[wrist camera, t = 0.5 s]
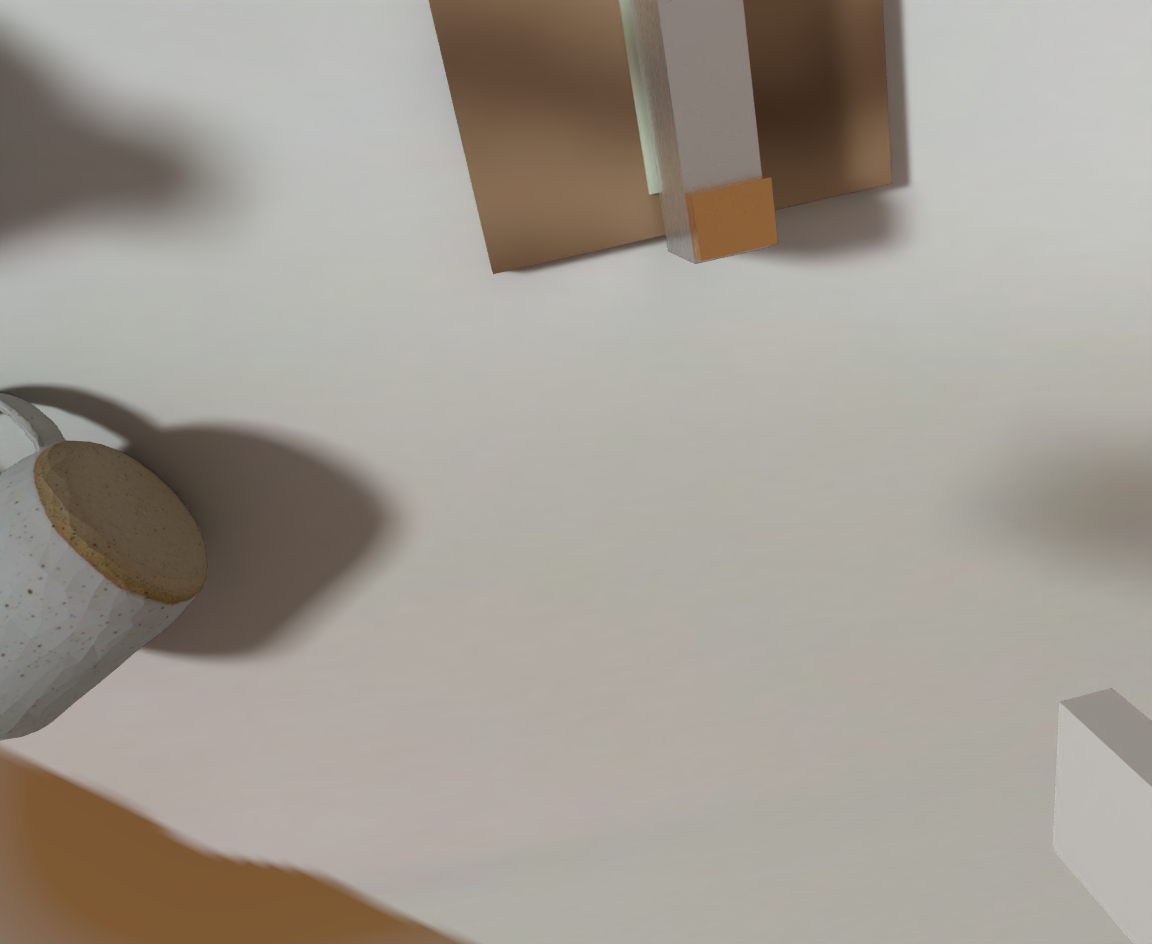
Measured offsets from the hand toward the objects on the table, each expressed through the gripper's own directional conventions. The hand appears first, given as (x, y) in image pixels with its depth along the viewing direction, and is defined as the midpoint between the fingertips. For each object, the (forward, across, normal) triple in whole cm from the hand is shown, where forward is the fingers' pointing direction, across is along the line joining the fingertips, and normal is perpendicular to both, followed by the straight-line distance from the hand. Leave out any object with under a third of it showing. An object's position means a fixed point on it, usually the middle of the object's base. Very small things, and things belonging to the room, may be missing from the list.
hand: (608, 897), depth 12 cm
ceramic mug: (+24, -17, -1) cm, 29 cm away
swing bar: (+22, +8, +11) cm, 26 cm away
